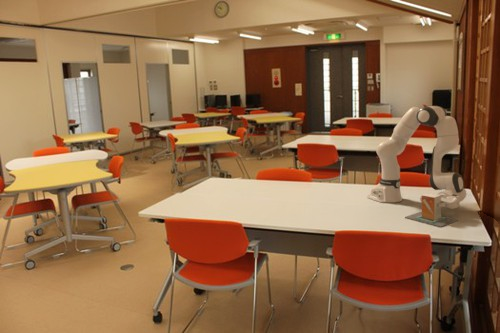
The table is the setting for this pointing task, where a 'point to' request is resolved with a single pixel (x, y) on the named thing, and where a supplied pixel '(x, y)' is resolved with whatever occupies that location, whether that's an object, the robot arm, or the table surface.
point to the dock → (439, 222)
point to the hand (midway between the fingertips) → (430, 203)
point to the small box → (431, 206)
